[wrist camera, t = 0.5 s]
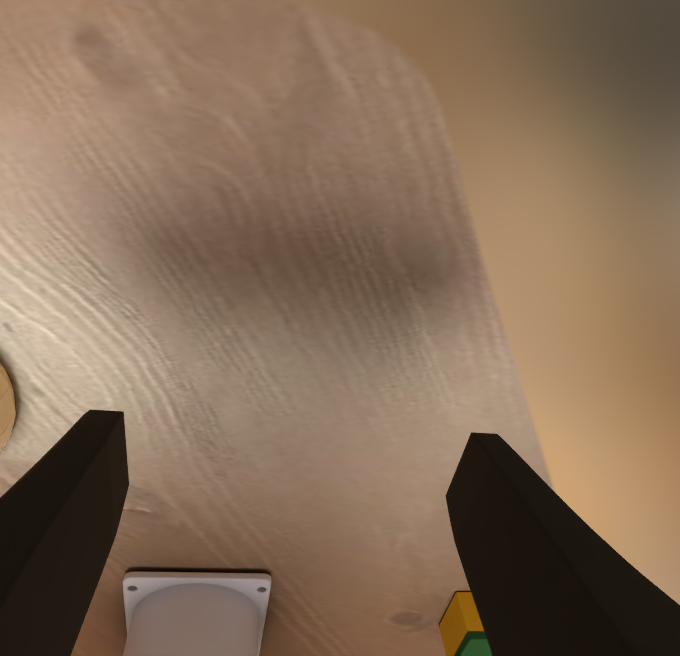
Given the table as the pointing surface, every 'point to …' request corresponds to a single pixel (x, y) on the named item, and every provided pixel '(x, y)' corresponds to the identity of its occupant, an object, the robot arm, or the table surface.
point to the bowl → (6, 407)
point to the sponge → (463, 628)
